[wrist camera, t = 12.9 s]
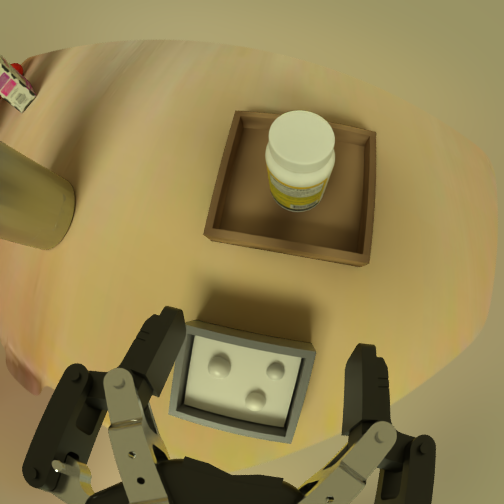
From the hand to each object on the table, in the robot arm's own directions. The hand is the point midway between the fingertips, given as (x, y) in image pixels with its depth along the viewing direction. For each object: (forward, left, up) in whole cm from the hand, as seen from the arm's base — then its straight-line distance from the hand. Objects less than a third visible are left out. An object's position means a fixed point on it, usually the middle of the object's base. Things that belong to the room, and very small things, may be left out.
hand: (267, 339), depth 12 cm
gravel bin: (-2, -6, -11) cm, 12 cm away
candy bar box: (-57, +29, -11) cm, 65 cm away
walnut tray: (0, +11, -11) cm, 16 cm away
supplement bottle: (0, +11, -10) cm, 15 cm away
